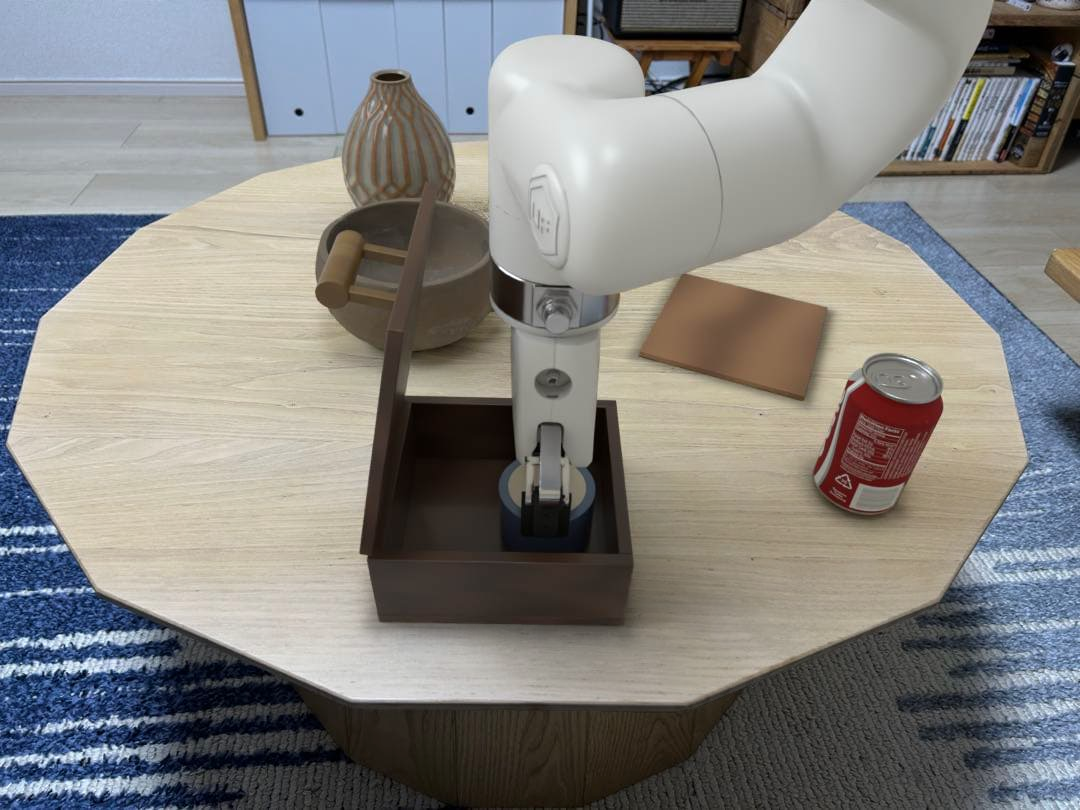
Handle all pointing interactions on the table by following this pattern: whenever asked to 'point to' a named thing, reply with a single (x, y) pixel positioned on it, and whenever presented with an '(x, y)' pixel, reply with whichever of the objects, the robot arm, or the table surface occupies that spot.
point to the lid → (400, 335)
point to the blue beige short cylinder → (580, 512)
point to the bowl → (449, 279)
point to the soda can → (879, 433)
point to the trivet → (738, 335)
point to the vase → (396, 144)
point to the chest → (490, 526)
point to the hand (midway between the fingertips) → (544, 479)
